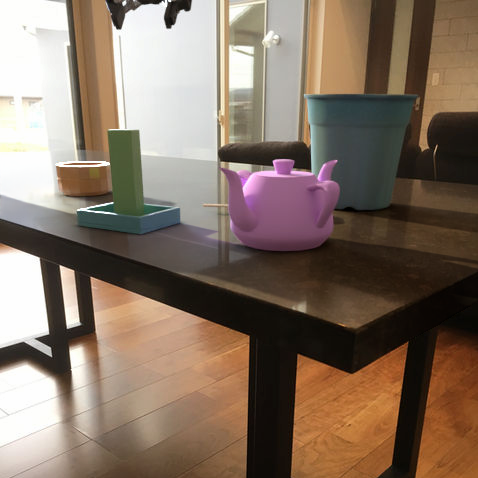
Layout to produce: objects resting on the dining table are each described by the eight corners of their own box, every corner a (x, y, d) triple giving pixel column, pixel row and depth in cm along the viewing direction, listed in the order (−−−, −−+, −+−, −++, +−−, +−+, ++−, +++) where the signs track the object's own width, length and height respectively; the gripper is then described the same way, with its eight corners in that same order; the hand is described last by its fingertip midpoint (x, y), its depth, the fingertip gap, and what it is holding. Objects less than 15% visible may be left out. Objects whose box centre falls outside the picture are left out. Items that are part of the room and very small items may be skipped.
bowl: (48, 194, 91) (44, 164, 89) (85, 188, 98) (82, 160, 96) (86, 198, 87) (83, 167, 85) (122, 191, 94) (120, 163, 92)
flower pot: (418, 214, 74) (434, 92, 68) (303, 213, 75) (310, 91, 69) (390, 197, 89) (401, 95, 83) (295, 196, 90) (299, 95, 84)
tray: (77, 225, 66) (76, 209, 65) (121, 215, 73) (120, 200, 72) (140, 234, 62) (139, 217, 61) (180, 222, 68) (180, 207, 67)
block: (114, 221, 66) (106, 130, 62) (123, 217, 69) (116, 129, 65) (137, 222, 65) (130, 130, 61) (145, 218, 68) (139, 129, 64)
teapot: (219, 253, 53) (218, 164, 50) (238, 226, 66) (238, 153, 63) (336, 258, 52) (342, 166, 49) (332, 229, 65) (337, 155, 61)
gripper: (113, -62, 88) (91, 3, 81) (195, -66, 86) (179, 1, 79) (127, -18, 95) (108, 45, 88) (203, -21, 92) (189, 44, 86)
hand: (141, 24), depth 84 cm, fingers open, 8 cm apart
